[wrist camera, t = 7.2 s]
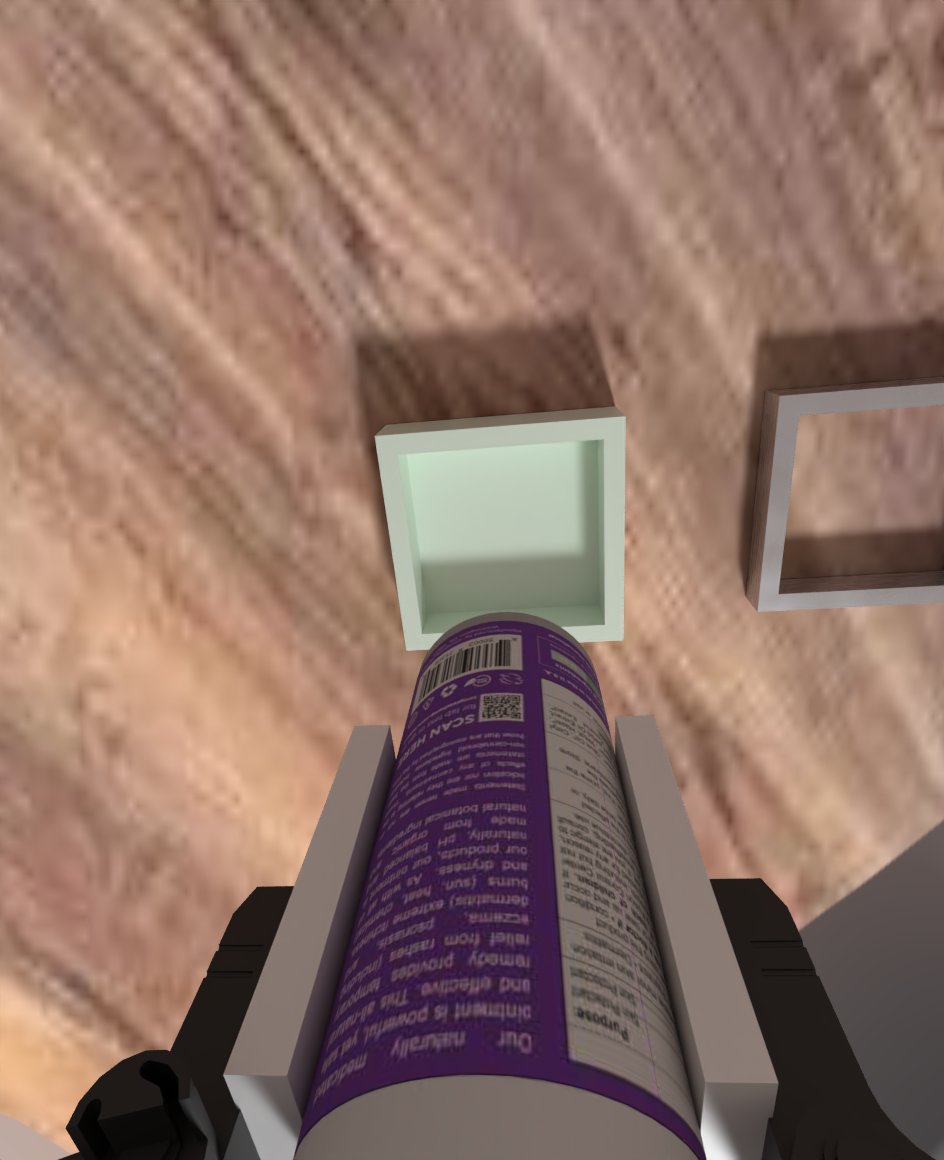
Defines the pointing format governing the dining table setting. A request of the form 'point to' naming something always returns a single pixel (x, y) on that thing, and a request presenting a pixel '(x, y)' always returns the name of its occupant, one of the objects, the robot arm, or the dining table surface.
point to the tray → (507, 520)
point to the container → (503, 932)
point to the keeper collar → (775, 496)
